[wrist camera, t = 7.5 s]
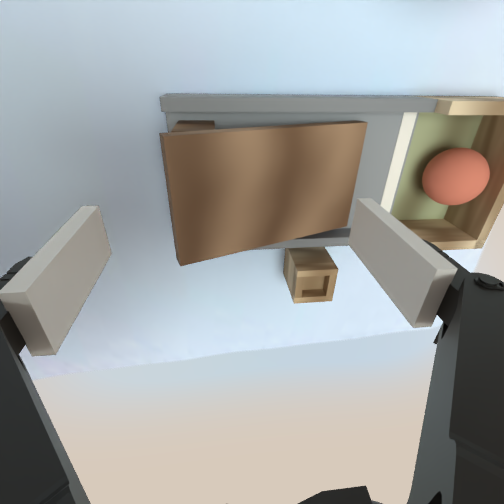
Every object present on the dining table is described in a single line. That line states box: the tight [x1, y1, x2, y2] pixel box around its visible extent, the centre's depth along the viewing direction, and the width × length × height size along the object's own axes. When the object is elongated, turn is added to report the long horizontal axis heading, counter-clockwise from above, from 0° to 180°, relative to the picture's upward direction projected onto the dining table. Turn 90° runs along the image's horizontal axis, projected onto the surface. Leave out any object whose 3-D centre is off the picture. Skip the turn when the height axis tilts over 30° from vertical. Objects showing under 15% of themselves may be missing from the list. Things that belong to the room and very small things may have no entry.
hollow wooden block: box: [283, 247, 338, 303], centre depth 27 cm, size 3×3×5 cm
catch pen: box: [391, 96, 504, 250], centre depth 24 cm, size 7×11×4 cm, turn 179°
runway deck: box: [160, 94, 438, 250], centre depth 23 cm, size 18×11×3 cm, turn 89°
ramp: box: [159, 120, 368, 266], centre depth 20 cm, size 14×8×6 cm, turn 89°
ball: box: [422, 148, 490, 205], centre depth 23 cm, size 4×4×4 cm
